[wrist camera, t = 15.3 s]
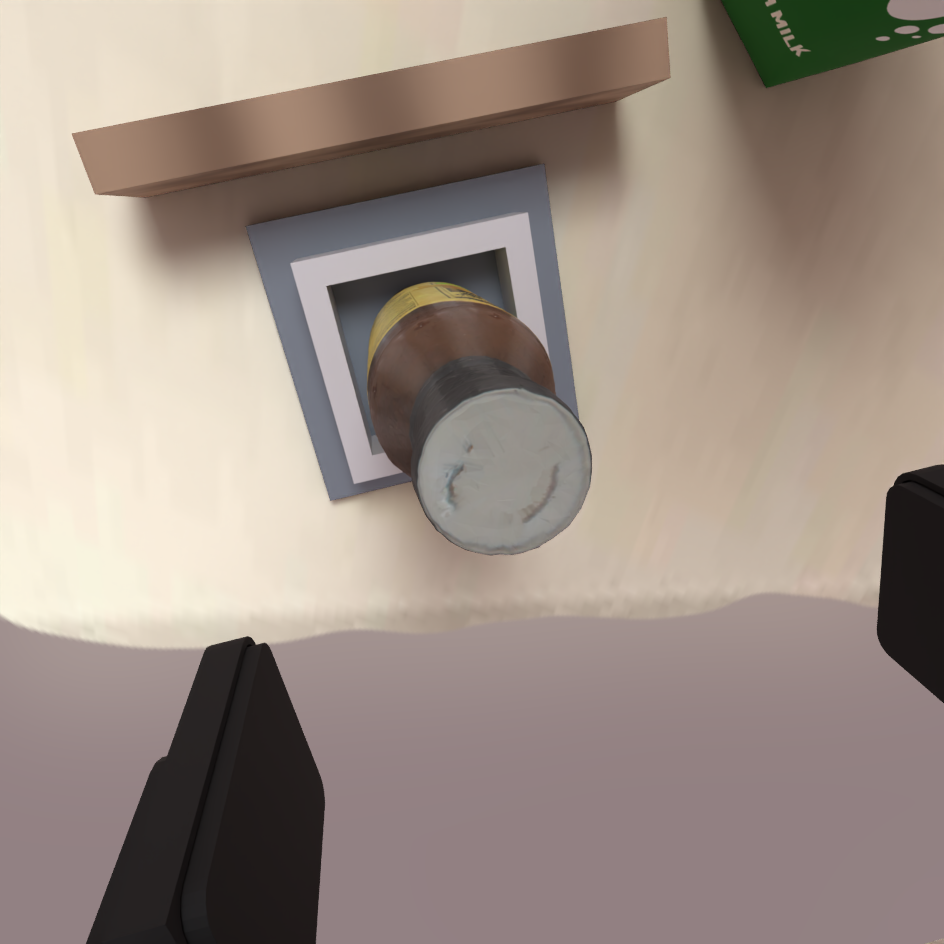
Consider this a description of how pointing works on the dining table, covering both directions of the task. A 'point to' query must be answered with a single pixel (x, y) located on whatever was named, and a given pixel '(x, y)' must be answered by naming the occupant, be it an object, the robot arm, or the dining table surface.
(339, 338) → the holder
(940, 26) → the milk carton
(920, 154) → the dining table surface
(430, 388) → the sauce bottle
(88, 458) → the dining table surface
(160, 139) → the walnut wall
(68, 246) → the dining table surface
